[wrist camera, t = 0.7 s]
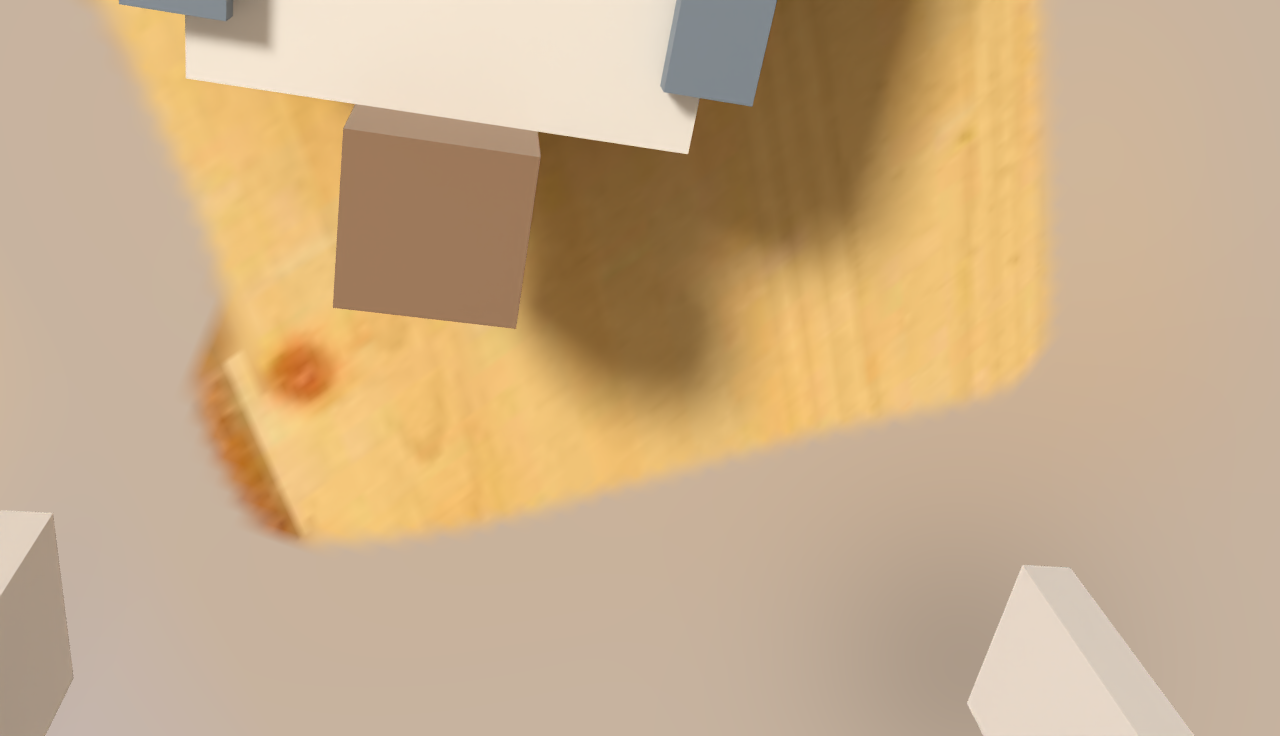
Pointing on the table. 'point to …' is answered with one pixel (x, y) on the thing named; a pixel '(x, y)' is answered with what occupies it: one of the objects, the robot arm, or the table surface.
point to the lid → (450, 124)
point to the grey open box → (696, 54)
